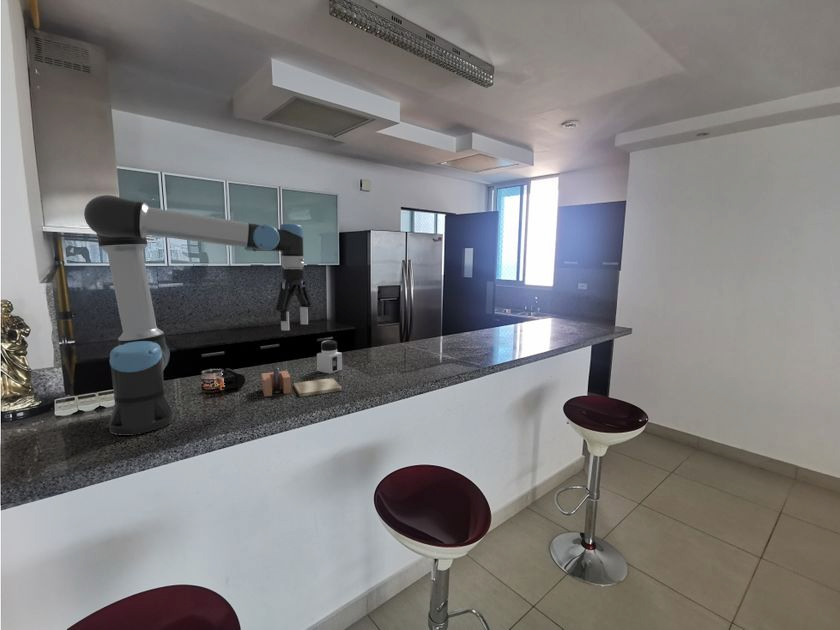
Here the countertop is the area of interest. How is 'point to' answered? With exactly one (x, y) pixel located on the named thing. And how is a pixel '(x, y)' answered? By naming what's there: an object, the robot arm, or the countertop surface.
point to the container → (329, 358)
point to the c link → (269, 382)
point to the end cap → (232, 380)
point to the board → (317, 387)
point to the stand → (276, 380)
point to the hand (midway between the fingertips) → (295, 327)
